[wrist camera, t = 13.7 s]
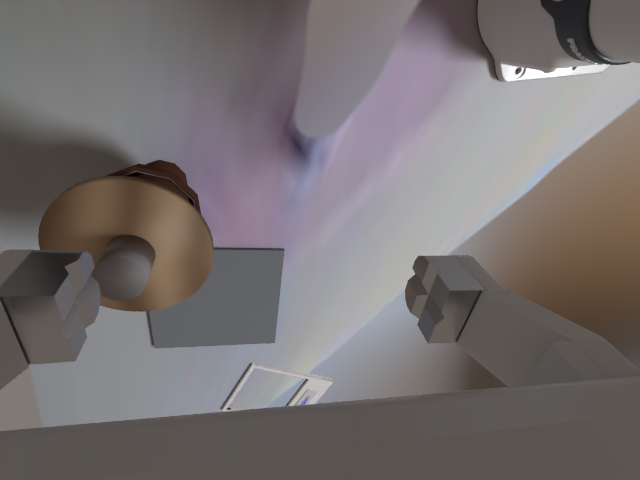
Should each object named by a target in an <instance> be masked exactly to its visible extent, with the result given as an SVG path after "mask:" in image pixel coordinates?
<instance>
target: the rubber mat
mask: <svg viewBox="0 0 640 480" xmlns="http://www.w3.org/2000/svg"><path fill="white" fill-rule="evenodd" d="M283 257H284V249H264V248H214V250H213V262H212V266H211V270H210V273H209V275H208V277H207V279H206V281H205V282H204V284H203V285H202V286H201V287H200V289H199V290H197V291H196V292H195V293H194V294H193V295H192V296H190V297H189V298H187V299H186V300H184V301H182V302H180V303H178V304H175V305H173V306H170V307H167V308H163V309H158V310H153V311H149V316H150V322H151V329H152V335H153V342H154V348H172V347H194V346H216V345H237V344H259V343H275V334H276V325H277V315H278V305H279V296H280V286H281V276H282V267H283Z"/></svg>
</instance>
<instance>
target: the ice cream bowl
mask: <svg viewBox="0 0 640 480" xmlns="http://www.w3.org/2000/svg"><path fill="white" fill-rule="evenodd" d="M107 176H128V177H136V178H141V179H145V180H149V181H152V182H155V183H158V184H160V185H162V186H165V187H167V188H169V189H171V190H172V191H174V192H176V193H178V194H179V195H181V196H182V197H183V198H185V199H186V200H187V201H188V202H190V203H191V204H192V205H193V206H194V207H195V208H196V209H197V211H198V212H199V213H200V214H201V212H200V206H199V200H198V195H197V194H196V193H195V192H194V191H193V190H192V189H191V188H190V187H189V186H188V185H187V180H186V175H185V173H184V172H183V171H182V170H181V169H180V168H179V167H178V166H177V165H176V164H174V163H170V162H166V161H161V160H159V161H156V162H153V163H150V164H147V165H142V164H137V165H134V166H131V167H129V168H126V169H123V170H120V171H117V172H114V173H112V174H109V175H107Z"/></svg>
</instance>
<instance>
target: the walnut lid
mask: <svg viewBox="0 0 640 480" xmlns="http://www.w3.org/2000/svg"><path fill="white" fill-rule="evenodd" d="M38 237H39V246H40V250H57V251H87V252H88V253H90V254H91V255H92V259H93V262H94V266H95V267H94V269H93V271H92V273H91V275H90V276H91V277H93V278H94V279H95V280H96V281H97V282H98V283H99V287H100V296H101V302H100V305H101V306H105V307H108V308H112V309H117V310H124V311H153V310H158V309H163V308H167V307H170V306H173V305H175V304H178V303H180V302H182V301H184V300H186V299H187V298H189V297H190V296H192V295H193V294H194V293H195V292H196V291H197V290H199V289H200V287H201V286H202V285H203V284H204V282H205V281H206V279H207V277H208V275H209V273H210V270H211V266H212V262H213V250H214V247H213V239H212V236H211V232H210V230H209V227H208V225H207V223H206V222H205V220H204V218H203V217H202V215H201V214H200V213H199V212H198V211H197V209H196V208H195V207H194V206H193V205H192V204H191V203H190V202H188V201H187V200H186V199H185V198H183V197H182V196H181V195H179V194H178V193H176V192H174V191H172V190H171V189H169V188H167V187H165V186H162V185H160V184H158V183H155V182H152V181H149V180H145V179H141V178H136V177H128V176H105V177H98V178H93V179H90V180H86V181H83V182H81V183H78V184H76V185H74V186H72V187H71V188H69V189H67V190H66V191H65V192H64V193H62V194H61V195H60V196H59V197H58V198H57V199H56V200H55V201H54V202H53V203H52V204H51V205H50V207H49V208H48V209H47V210H46V212H45V214H44V216H43V218H42V220H41V223H40V227H39V235H38Z"/></svg>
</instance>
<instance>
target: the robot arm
mask: <svg viewBox="0 0 640 480" xmlns="http://www.w3.org/2000/svg"><path fill="white" fill-rule="evenodd" d="M478 24H479V30H480V33H481V36H482V39H483V41H484V43H485V45H486V46H487V48H488V49H489V51H490V52H491V54H492V56H493V58H494V61H495V69H496V74H497V77H498V79H499V80H500V81H504V82H512V81H523V80H533V79H543V78H554V77H564V76H574V75H585V74H595V73H600V72H603V71H604V70H605V69H606V68H608V67H609V66H610V65H620V64H627V63H630V62H634V63H640V0H478ZM517 68H518V71H517V72H516V73H515V71H516V69H517ZM94 267H95V266H94V262H93V259H92V255H91V254H90V253H88V252H87V251H57V250H7V251H4V252H2V253H1V254H0V389H2V388H3V387H4V386H6V385H7V384H8V383H9V382H10V381H12V380H13V379H14V378H16V377H17V376H18V375H19V374H21V373H22V372H23V371H24V370H26V369H27V368H28V367H29V365H30V364H43V363H57V362H70V361H76V359H77V357H78V355H79V353H80V351H81V349H82V347H83V344H84V342H85V340H86V338H87V335H86V331H85V328H86V327H88V326H89V325H91V324H92V323H94V321H95V319H96V317H97V315H98V312H99V307H100V302H101V296H100V287H99V283H98V282H97V281H96V280H95V279H94V278H93V277H91V276H90V275H91V273H92V271H93V269H94ZM413 270H414V272H415V275H414V276H413V277H412V278H410V279H409V280H408V283H407V286H406V289H405V298H406V303H407V307H408V309H409V310H410V312H411V313H412V314H413V315H415V316H416V317H417V318H419V321H418V327H419V328H420V330H421V332H422V334H423V335H424V337H425V339H426V341H427V342H428V343H457V345H458V346H459V347H460V348H462V349H463V350H464V351H465V352H467V353H468V354H469V355H470V356H471V357H473V358H474V359H475V360H476V361H478V362H479V363H480V364H481V365H483V366H484V367H485V368H486V369H487V370H489V371H490V372H491V373H492V374H493V375H495V376H496V377H497V378H498V379H500V380H501V381H502V382H503V383H505V384H506V385H507V386H508V387H504V388H492V389H481V390H469V391H459V392H446V393H436V394H423V395H411V396H400V397H389V398H378V399H365V400H354V401H342V402H332V403H319V404H308V405H296V406H285V407H273V408H262V409H250V410H239V411H227V412H216V413H204V414H193V415H181V416H170V417H158V418H147V419H135V420H124V421H112V422H101V423H89V424H78V425H66V426H55V427H43V428H32V429H20V430H9V431H0V480H640V371H639V370H638V369H637V368H636V367H635V366H634V365H633V364H632V363H631V362H629V361H628V360H627V359H626V358H625V357H624V356H623V355H622V354H620V352H618V351H617V350H616V349H615V348H614V347H613V346H612V345H611V344H610V343H608V342H607V341H606V340H605V339H604V338H603V337H601V336H599V335H597V334H595V333H593V332H591V331H589V330H587V329H585V328H583V327H581V326H579V325H577V324H575V323H573V322H571V321H569V320H567V319H565V318H563V317H561V316H559V315H557V314H555V313H553V312H551V311H549V310H547V309H545V308H543V307H541V306H539V305H537V304H535V303H533V302H531V301H529V300H527V299H525V298H523V297H521V296H519V295H517V294H515V293H513V292H511V291H509V290H507V291H505V290H503V289H502V287H501V286H500V285H499V284H498V283H497V282H496V281H495V280H494V279H493V278H492V277H491V276H490V275H489V274H488V273H487V272H486V271H485V269H483V267H482V266H481V265H480V264H479V263H478V262H477V261H476V260H475V259H474V258H473V257H471V256H469V255H451V256H418V257H417V259H416V260H415V262H414V265H413Z"/></svg>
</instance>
